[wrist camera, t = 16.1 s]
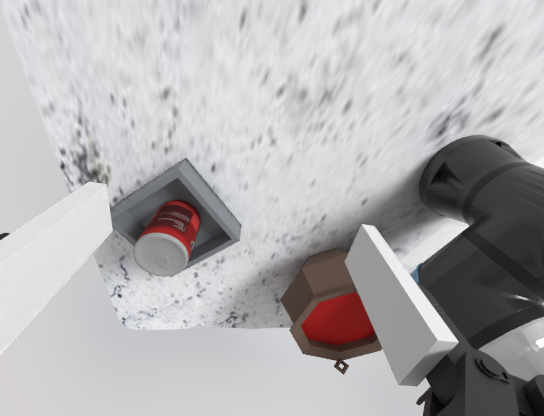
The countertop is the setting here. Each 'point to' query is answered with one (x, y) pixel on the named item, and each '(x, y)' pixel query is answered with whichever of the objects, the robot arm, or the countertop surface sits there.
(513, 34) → the countertop surface
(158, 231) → the canned food
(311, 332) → the brown cooking pot
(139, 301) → the countertop surface
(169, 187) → the bin
